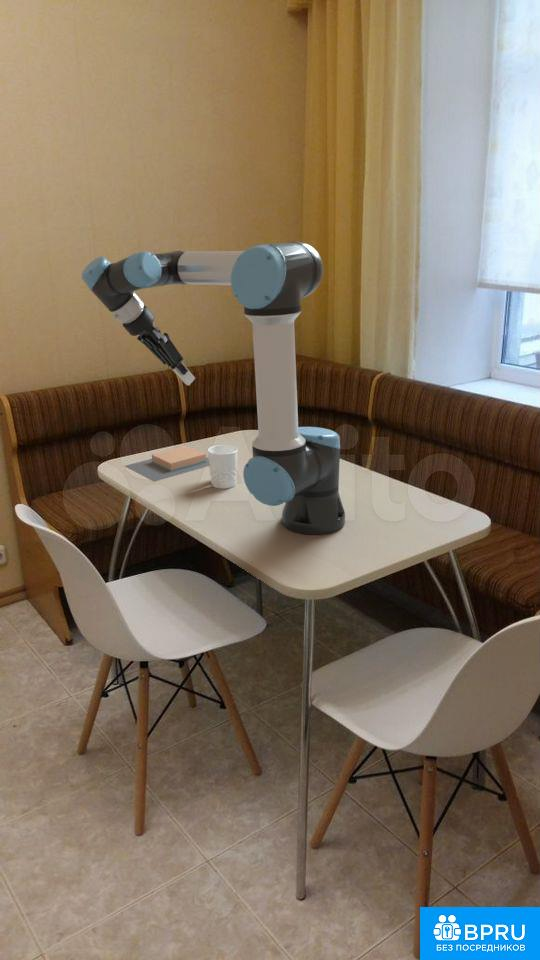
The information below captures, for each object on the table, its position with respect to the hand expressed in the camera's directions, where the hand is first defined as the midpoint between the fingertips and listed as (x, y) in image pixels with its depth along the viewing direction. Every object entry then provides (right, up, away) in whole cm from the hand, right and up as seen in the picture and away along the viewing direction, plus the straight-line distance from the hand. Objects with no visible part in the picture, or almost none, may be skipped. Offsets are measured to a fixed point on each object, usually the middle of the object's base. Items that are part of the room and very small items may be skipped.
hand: (190, 381), depth 199 cm
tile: (-10, -21, +16) cm, 28 cm away
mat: (-7, -22, +19) cm, 30 cm away
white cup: (+8, -27, +6) cm, 29 cm away
